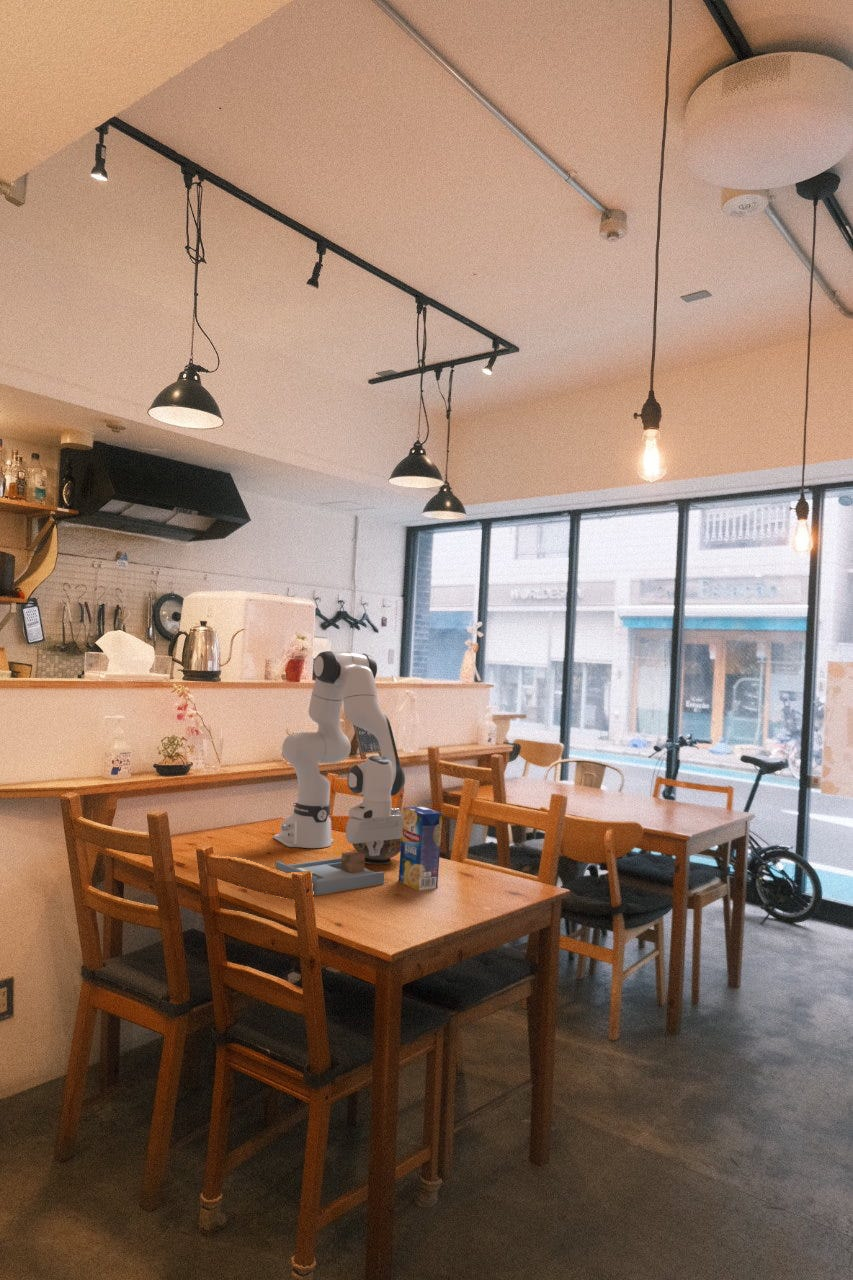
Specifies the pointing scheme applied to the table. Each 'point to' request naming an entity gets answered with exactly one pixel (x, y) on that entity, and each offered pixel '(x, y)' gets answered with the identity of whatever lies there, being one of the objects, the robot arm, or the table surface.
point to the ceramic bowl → (386, 851)
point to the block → (353, 862)
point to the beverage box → (420, 847)
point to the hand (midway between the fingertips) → (374, 855)
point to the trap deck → (333, 876)
